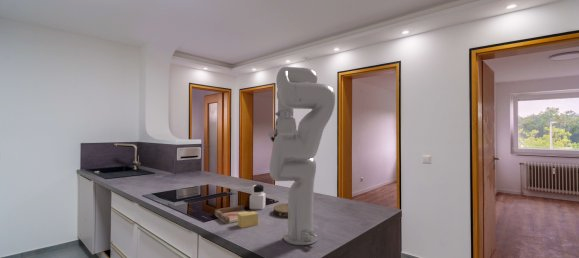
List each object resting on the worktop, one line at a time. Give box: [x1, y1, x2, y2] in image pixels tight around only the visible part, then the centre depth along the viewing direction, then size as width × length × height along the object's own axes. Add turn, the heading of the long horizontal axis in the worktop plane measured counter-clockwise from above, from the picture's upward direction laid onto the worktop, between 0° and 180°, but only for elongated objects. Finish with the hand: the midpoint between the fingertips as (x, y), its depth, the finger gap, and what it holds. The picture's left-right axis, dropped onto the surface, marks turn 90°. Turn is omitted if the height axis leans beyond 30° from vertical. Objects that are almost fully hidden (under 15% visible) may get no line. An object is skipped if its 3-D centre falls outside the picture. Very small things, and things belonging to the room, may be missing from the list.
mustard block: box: [237, 210, 259, 229], centre depth 118 cm, size 4×8×5 cm, turn 123°
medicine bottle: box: [249, 184, 266, 210], centre depth 146 cm, size 7×7×12 cm
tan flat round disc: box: [273, 202, 288, 219], centre depth 137 cm, size 16×16×3 cm
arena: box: [213, 204, 248, 225], centre depth 130 cm, size 16×15×2 cm
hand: (285, 150), depth 131 cm, fingers open, 9 cm apart
